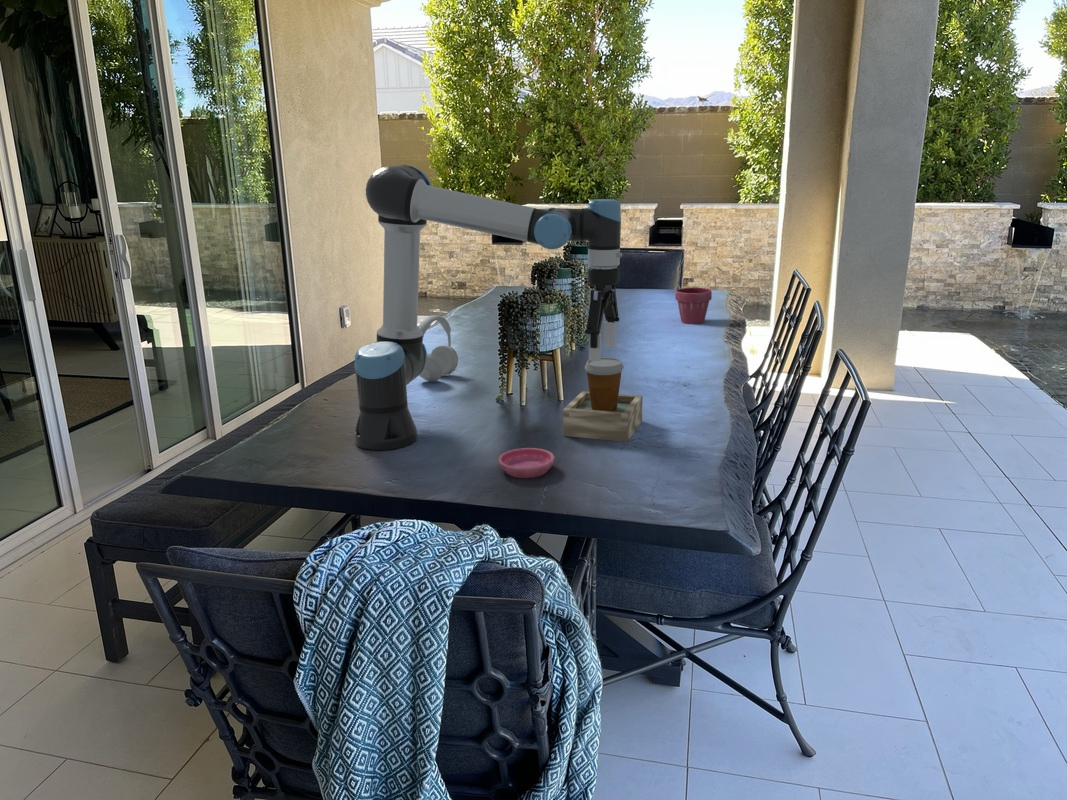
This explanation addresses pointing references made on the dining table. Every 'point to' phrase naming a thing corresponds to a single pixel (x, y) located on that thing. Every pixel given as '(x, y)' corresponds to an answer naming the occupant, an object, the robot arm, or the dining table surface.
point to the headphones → (438, 353)
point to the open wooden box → (602, 418)
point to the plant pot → (693, 304)
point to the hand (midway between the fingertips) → (602, 354)
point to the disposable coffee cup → (604, 383)
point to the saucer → (526, 462)
